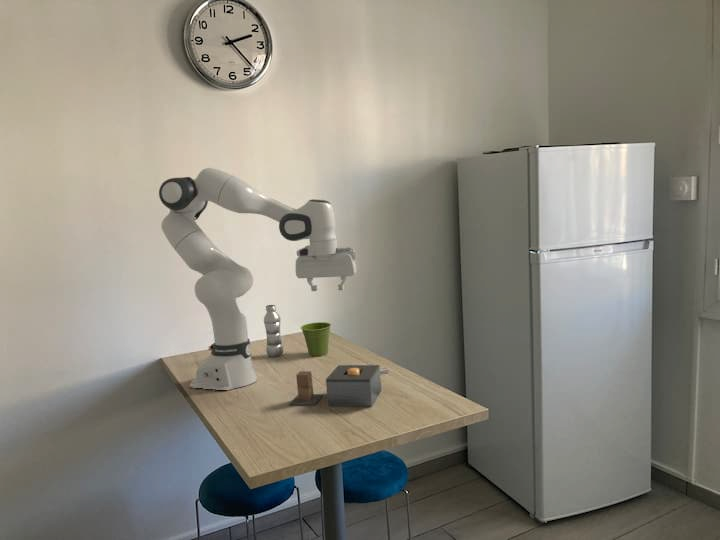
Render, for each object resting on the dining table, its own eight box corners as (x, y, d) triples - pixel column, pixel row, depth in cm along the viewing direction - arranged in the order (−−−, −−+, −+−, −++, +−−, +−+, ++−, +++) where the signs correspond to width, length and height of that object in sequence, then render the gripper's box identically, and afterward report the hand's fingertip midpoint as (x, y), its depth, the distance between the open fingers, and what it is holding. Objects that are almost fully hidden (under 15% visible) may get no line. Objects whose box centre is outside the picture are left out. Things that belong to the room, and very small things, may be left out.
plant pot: (298, 358, 215) (295, 329, 213) (310, 349, 226) (307, 322, 225) (327, 359, 211) (325, 329, 210) (338, 350, 223) (335, 322, 221)
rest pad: (289, 405, 167) (289, 403, 167) (298, 395, 174) (298, 393, 174) (315, 405, 165) (314, 404, 165) (323, 395, 172) (323, 394, 172)
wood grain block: (302, 396, 172) (300, 371, 171) (313, 396, 171) (311, 371, 170) (298, 401, 168) (296, 375, 167) (309, 401, 167) (307, 375, 166)
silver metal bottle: (275, 352, 226) (270, 303, 223) (287, 354, 222) (282, 304, 219) (263, 357, 220) (258, 307, 218) (276, 359, 216) (270, 307, 214)
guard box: (328, 405, 164) (325, 379, 163) (340, 390, 176) (338, 365, 175) (372, 406, 161) (369, 379, 159) (381, 390, 173) (379, 365, 172)
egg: (347, 391, 167) (345, 371, 166) (350, 387, 170) (348, 367, 169) (359, 391, 166) (357, 371, 165) (362, 387, 169) (360, 367, 169)
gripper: (357, 246, 186) (360, 287, 188) (298, 249, 191) (302, 289, 193) (351, 248, 180) (355, 291, 182) (291, 251, 185) (295, 293, 187)
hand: (327, 290), depth 187 cm, fingers open, 8 cm apart
